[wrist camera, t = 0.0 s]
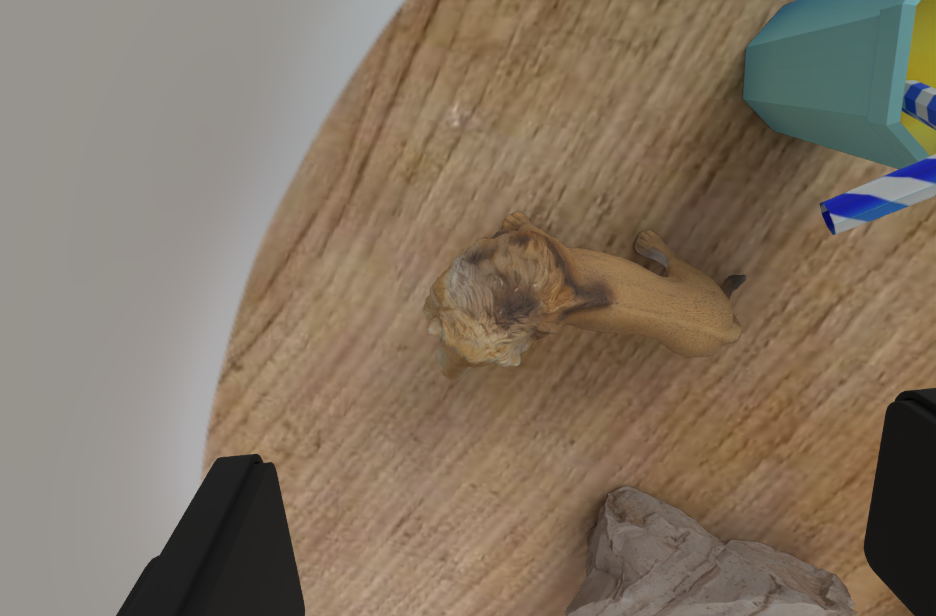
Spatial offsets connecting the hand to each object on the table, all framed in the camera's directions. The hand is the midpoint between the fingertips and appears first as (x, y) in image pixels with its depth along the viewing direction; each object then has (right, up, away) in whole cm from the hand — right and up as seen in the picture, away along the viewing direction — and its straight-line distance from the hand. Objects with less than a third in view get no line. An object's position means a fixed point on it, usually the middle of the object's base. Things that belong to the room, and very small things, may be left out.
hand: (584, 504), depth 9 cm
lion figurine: (+3, +5, +19) cm, 20 cm away
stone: (+10, -10, +25) cm, 28 cm away
